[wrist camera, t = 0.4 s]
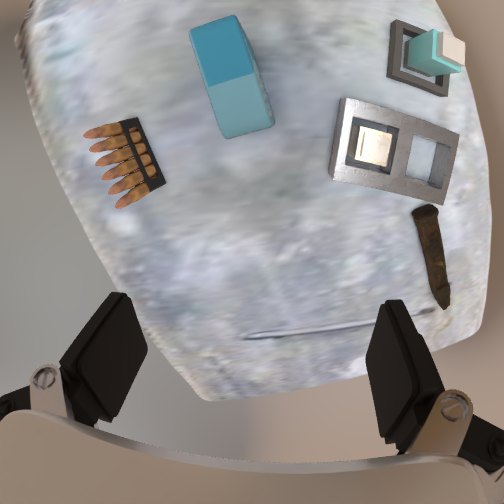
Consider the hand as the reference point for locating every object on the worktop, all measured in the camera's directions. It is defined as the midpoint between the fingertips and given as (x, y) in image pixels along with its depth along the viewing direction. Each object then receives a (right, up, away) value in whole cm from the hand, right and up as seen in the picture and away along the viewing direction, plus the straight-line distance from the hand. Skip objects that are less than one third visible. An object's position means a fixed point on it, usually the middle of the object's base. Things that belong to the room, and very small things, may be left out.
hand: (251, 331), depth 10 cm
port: (+18, +16, +23) cm, 34 cm away
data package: (-1, +24, +22) cm, 32 cm away
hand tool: (+29, +2, +30) cm, 42 cm away
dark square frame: (+22, +28, +16) cm, 39 cm away
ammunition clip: (-15, +17, +27) cm, 35 cm away
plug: (+22, +28, +16) cm, 39 cm away
